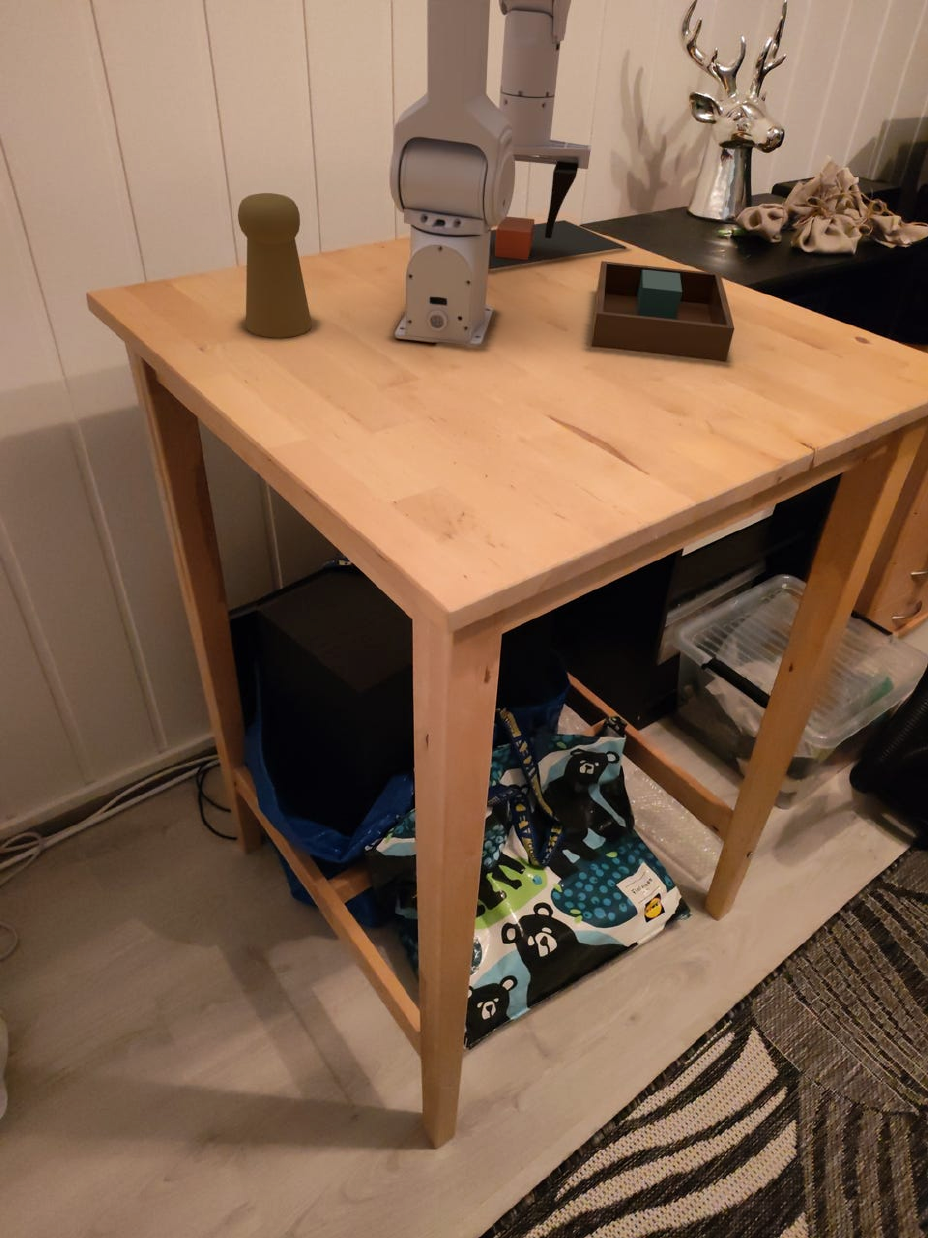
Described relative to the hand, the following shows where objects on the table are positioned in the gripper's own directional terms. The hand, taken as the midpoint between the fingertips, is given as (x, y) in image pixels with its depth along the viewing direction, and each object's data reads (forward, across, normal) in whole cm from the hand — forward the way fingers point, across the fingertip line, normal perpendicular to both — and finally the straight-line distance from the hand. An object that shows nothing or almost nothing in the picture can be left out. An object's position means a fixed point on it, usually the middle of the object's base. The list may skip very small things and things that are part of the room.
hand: (515, 232), depth 95 cm
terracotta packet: (+2, 0, 0) cm, 2 cm away
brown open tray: (+2, -16, +18) cm, 24 cm away
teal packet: (+2, -16, +14) cm, 22 cm away
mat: (+2, -2, -4) cm, 5 cm away
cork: (+3, +19, +28) cm, 34 cm away
